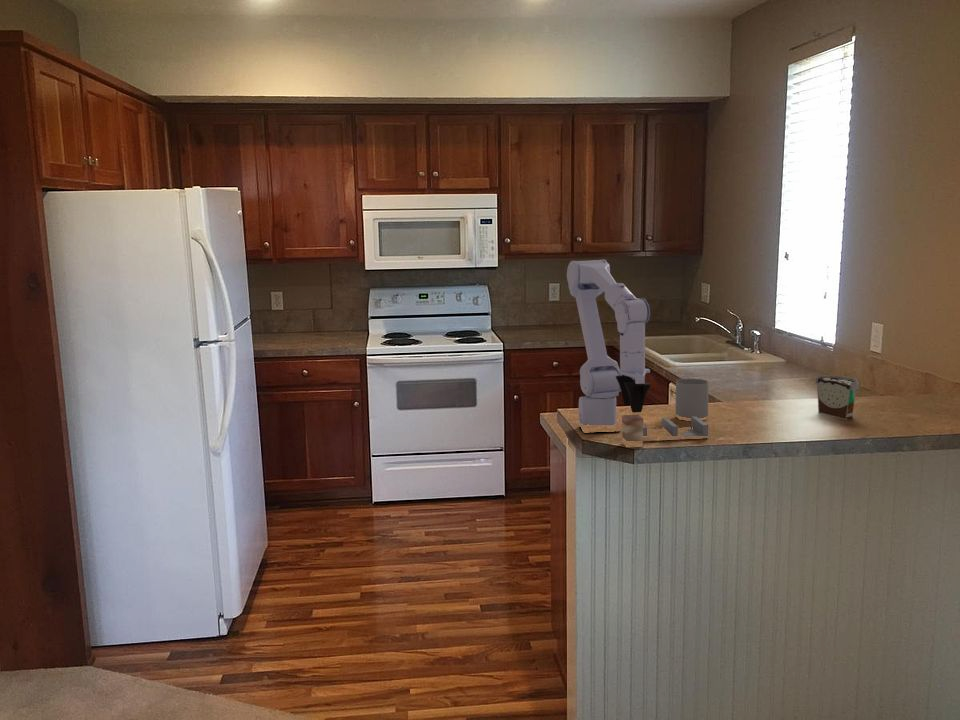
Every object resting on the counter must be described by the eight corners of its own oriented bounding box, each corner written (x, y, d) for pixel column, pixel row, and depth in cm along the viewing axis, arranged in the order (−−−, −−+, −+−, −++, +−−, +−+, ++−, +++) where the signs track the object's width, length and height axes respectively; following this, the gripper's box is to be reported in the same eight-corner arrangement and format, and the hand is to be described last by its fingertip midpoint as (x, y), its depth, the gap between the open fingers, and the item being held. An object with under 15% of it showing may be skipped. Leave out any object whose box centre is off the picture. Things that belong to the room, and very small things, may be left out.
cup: (681, 413, 214) (681, 377, 213) (711, 416, 210) (711, 379, 208) (671, 420, 207) (672, 383, 205) (702, 423, 203) (703, 385, 201)
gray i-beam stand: (642, 442, 186) (642, 427, 186) (633, 432, 195) (633, 419, 195) (707, 439, 187) (708, 424, 187) (695, 429, 196) (695, 416, 195)
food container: (868, 418, 202) (870, 380, 200) (850, 421, 199) (852, 383, 198) (831, 409, 213) (832, 373, 211) (814, 411, 211) (815, 375, 209)
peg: (626, 448, 182) (626, 419, 181) (622, 443, 186) (621, 415, 185) (643, 447, 182) (643, 418, 181) (639, 442, 186) (638, 414, 185)
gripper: (658, 355, 173) (657, 414, 175) (641, 346, 188) (641, 401, 190) (626, 356, 173) (627, 416, 175) (612, 347, 187) (613, 402, 189)
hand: (632, 408), depth 182 cm, fingers open, 7 cm apart
